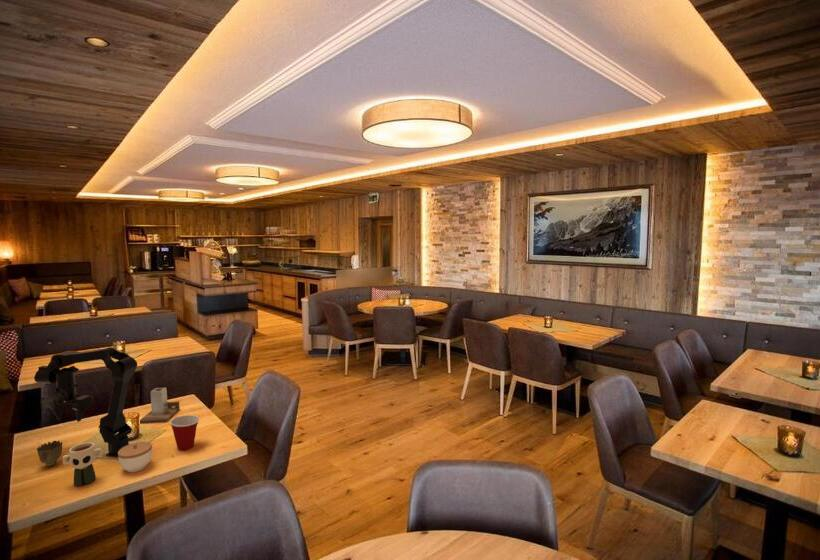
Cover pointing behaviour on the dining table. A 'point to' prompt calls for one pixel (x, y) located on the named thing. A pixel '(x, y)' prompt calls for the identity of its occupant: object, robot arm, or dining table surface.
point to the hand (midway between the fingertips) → (69, 420)
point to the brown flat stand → (172, 410)
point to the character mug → (82, 462)
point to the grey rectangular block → (159, 401)
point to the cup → (50, 453)
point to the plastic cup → (184, 431)
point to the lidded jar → (135, 456)
